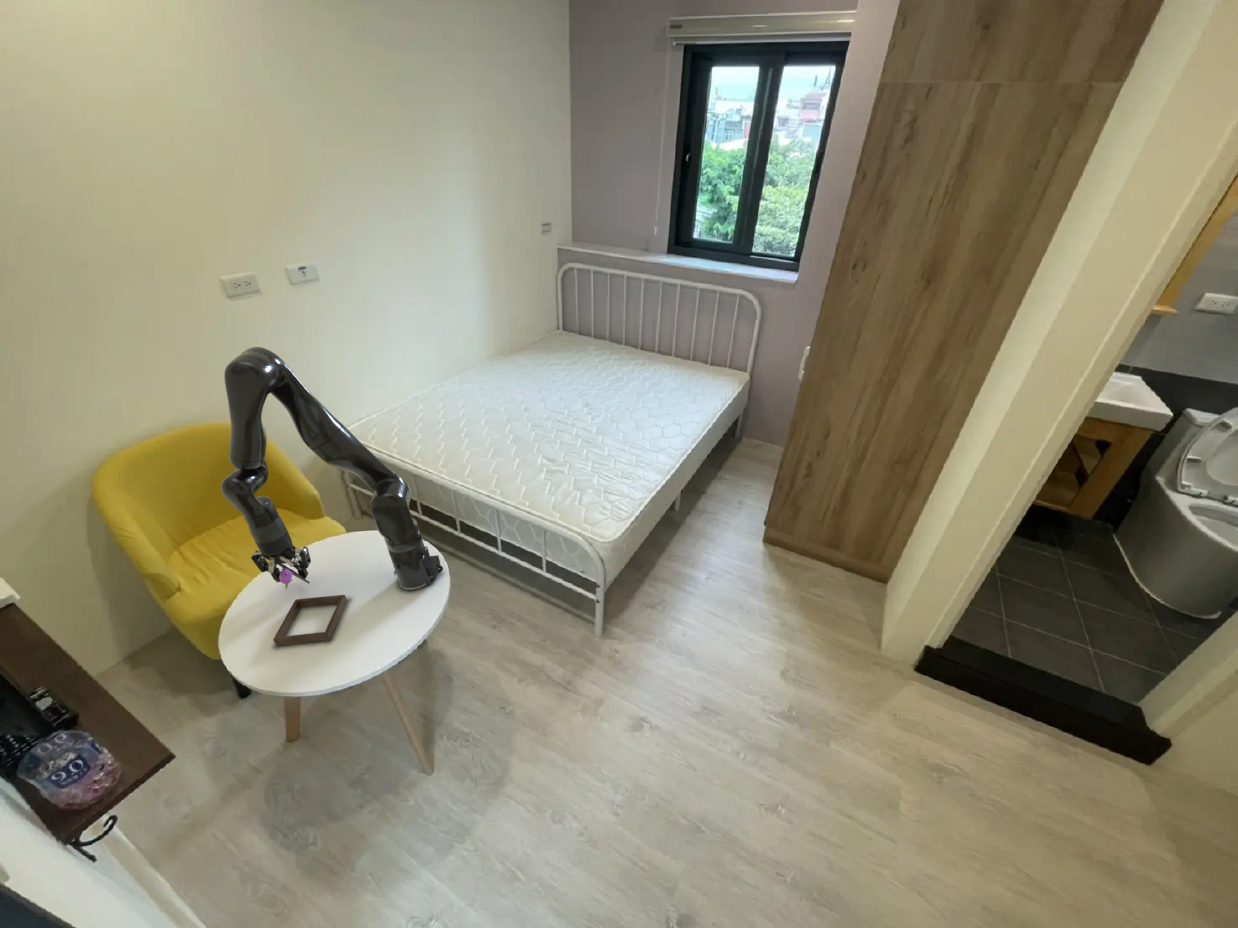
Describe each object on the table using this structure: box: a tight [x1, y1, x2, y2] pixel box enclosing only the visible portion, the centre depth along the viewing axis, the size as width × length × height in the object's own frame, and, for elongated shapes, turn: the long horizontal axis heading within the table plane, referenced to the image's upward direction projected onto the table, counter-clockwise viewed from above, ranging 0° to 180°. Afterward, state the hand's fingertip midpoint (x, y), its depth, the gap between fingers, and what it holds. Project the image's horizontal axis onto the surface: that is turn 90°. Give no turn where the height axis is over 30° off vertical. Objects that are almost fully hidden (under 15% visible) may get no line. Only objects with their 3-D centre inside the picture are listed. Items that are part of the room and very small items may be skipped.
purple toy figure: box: [277, 563, 310, 590], centre depth 142 cm, size 7×5×9 cm
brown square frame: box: [272, 594, 348, 647], centre depth 135 cm, size 13×14×3 cm
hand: (292, 578), depth 144 cm, fingers closed on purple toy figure, 6 cm apart
